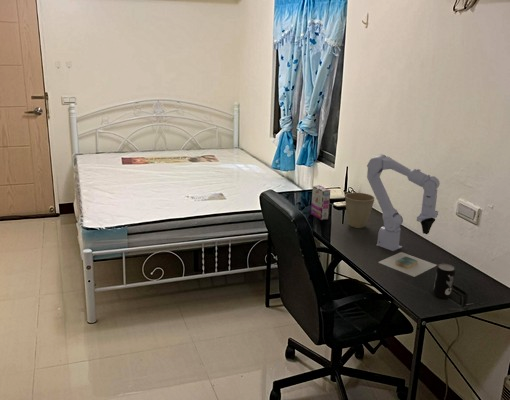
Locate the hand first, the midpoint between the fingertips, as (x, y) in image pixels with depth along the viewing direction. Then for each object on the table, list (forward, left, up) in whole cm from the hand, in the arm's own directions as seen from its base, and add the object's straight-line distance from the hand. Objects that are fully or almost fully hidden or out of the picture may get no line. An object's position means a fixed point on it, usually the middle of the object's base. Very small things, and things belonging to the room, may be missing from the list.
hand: (425, 233), depth 224 cm
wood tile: (+2, -12, -9) cm, 15 cm away
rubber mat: (+2, -15, -10) cm, 18 cm away
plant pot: (-42, +7, -11) cm, 44 cm away
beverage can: (+26, -29, -11) cm, 40 cm away
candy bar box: (-64, +2, -11) cm, 65 cm away
